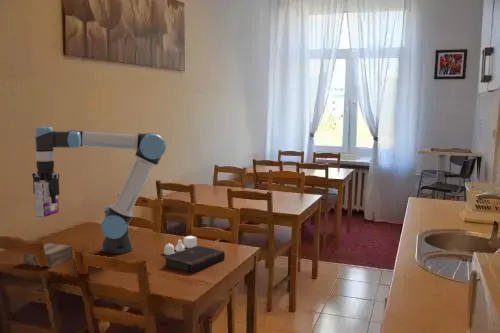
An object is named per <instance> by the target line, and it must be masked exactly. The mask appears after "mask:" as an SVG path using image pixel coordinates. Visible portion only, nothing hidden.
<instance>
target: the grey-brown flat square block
mask: <svg viewBox="0 0 500 333" xmlns="http://www.w3.org/2000/svg"><path fill="white" fill-rule="evenodd" d="M43 244H44V251H45V256H46V260H47V265H48V267H47V268H53V267H56V266H57V264H58V265H60V264H62V263H65V262H66V260H67V261H69V260H71V259H70V258H72V259H73V258H74V256H73V255H74V254H73V253H74V252H73V245H67V244H66V245H65V244H59V243H50V242H49V243H48V242H46V243H43ZM68 259H69V260H68ZM64 261H65V262H64ZM23 262H24V263H23V264H24V265H29V266H36V267H37V261H36V256H35V255H31V254H24V253H23Z"/></svg>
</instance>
